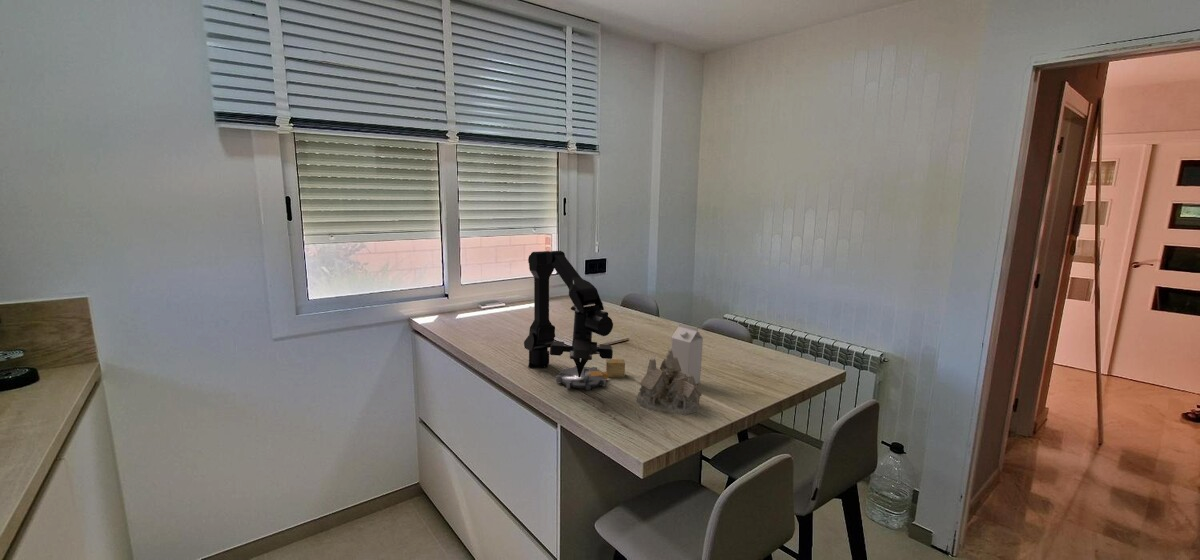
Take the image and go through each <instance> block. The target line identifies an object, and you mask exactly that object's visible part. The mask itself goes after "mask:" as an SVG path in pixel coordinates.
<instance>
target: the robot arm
mask: <svg viewBox="0 0 1200 560" xmlns="http://www.w3.org/2000/svg"><path fill="white" fill-rule="evenodd" d="M527 263H528V266H529V267H528V269H529V271H530V273H531V274H532V276H533V280H534V281H533V283H534V287H533V288H534V289H533V290H534V292H533V294H534V297H533V299H534V302H533V303H534V304H533V305H534V307H533V309H534V313H533V314H534V315H533V316H534V319H533V322H532V323H531V325H530V326H529V332H528V336H527V337H526V338H525V340H524V341H523V346H524V349H525V350H528V365H527V368H536V369H537V368H539V369H543V368H544V369H546V368H548V366H549V365H550V356H562V355H563V353H565V352H566V353H569V359H570V360H573V361H574V364H575V366H576V367H577V371H578V377H580V375H581V373H582V370H583V368H584V367H586V365H587V363H588V361H592V360H593V356H594V355H599V357H600V359H605V360H606V359H613V355H614V354H613V352H614V351H613V347H612V345H611V344H602V343H600V344H599V345H598V342H597V341H592V340H593V333H594V334H597V335H599V336H601V337H606V336H608V335H610V334H611V332H612V330H613V327H614V322H613V320H612V318H611V317H610V316H609V312H607V311H604V310H605V307H604V303H603V302H602V300H601V298H600V297H601V296H600V294H599V292H598V289H597V287H595V286H594V285H593V284H592V283H591V282H590V281H589V280H586V279H584V278H583V277H581V275H580V274H579V272H578V271H577V270H576V269H575V267H573V264H571V262H570V261H569V260H568V259H567V257H566V254H565V252H564V251H562V250H546V251H545V250H542V251H532V252H531V253H530V254H529V255H528V261H527ZM554 270H555V272H556V273H557V274H558V276H559V277H560V278H561V279H562V280H561V281H563V282H564V284H565V285H566V286H567V288H568V297H569V298H570V300H571V302H572V304H573V306H571V307H570V310H571V311H573V312H574V318H573V334H572V342H571V344H572V345H566V344H565V342H564V341H558V340H557V341H556V340H555V338H556V332H555V331H556V327H555V326H556V325H553V324H552V322H551V321H550V278H551V275H552V273H554Z"/></svg>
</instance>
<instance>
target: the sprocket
mask: <svg viewBox="0 0 1200 560" xmlns="http://www.w3.org/2000/svg"><path fill="white" fill-rule="evenodd" d="M555 378H556V380H555V381H556V383H561V385H562V384H563V386H565V388H566V389H569V390H570V389H572V388H573V389H584V390H586V391H591V389H593V388H597V387H599V386H601V387H604V386H606V382H607V380H608V378H609V377H608V373H607V372H606V371H602V370H600V369H598V367H596V366H592V367H589V366H584V368H583V370H582V373H581V375H580V377H578V371H577V367H576V365H574V366H573V367H568V368H565V369H564V368H561V369H559V374H558V375H556V377H555Z"/></svg>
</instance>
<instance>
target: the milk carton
mask: <svg viewBox="0 0 1200 560" xmlns="http://www.w3.org/2000/svg"><path fill="white" fill-rule="evenodd" d="M698 329H699V328H698V327H696V326H691V325H689V324H688V325H687V324H685V323H684V324H683V323H680V322H679V323H678V327H677V328H676V330H675V332H674V333H673V334H672V336H671V345H670V346H671V347H670V348H671V349H670V350H672V352H673V358H675V357H677V358H678V361H679V364H680V367H681V371H680V372H682V373H684V374H686V376H689V375H690V374H691V375H693V377H694V380H695V383H696V385H698V384H700V383H701V374H702V373H701V371H702V360H703V347H704V346H703V345H704V344H703V343H704V338H703V336H702V335H701V333H700V332H699V330H698Z"/></svg>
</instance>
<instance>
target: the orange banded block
mask: <svg viewBox="0 0 1200 560" xmlns="http://www.w3.org/2000/svg"><path fill="white" fill-rule="evenodd" d="M625 370H626V362H625V359H624V358H623V359H620V358H619V359H618V358H617V359H615V358H612V359H605V372H607V373H608V378H625V376H626V375H625V374H626V371H625Z"/></svg>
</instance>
